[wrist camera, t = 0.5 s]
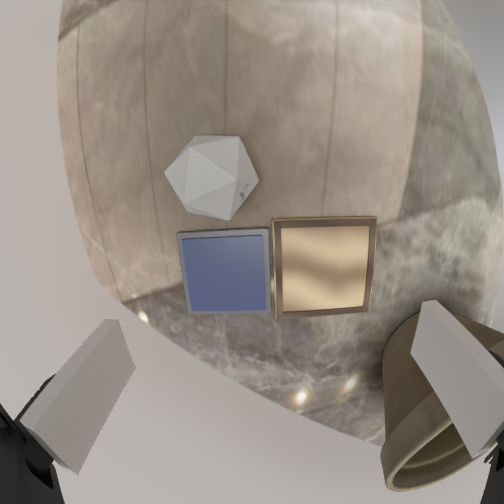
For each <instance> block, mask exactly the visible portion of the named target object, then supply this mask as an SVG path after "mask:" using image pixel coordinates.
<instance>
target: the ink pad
mask: <svg viewBox="0 0 504 504" xmlns="http://www.w3.org/2000/svg"><path fill="white" fill-rule="evenodd" d="M177 241H178V249H179V256H180V264H181V271H182V277H183V284H184V290H185V296H186V302H187V308H188V314H254V313H271V291H270V263H269V238H268V227H266V228H244V229H225V230H206V231H190V232H178V233H177Z"/></svg>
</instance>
